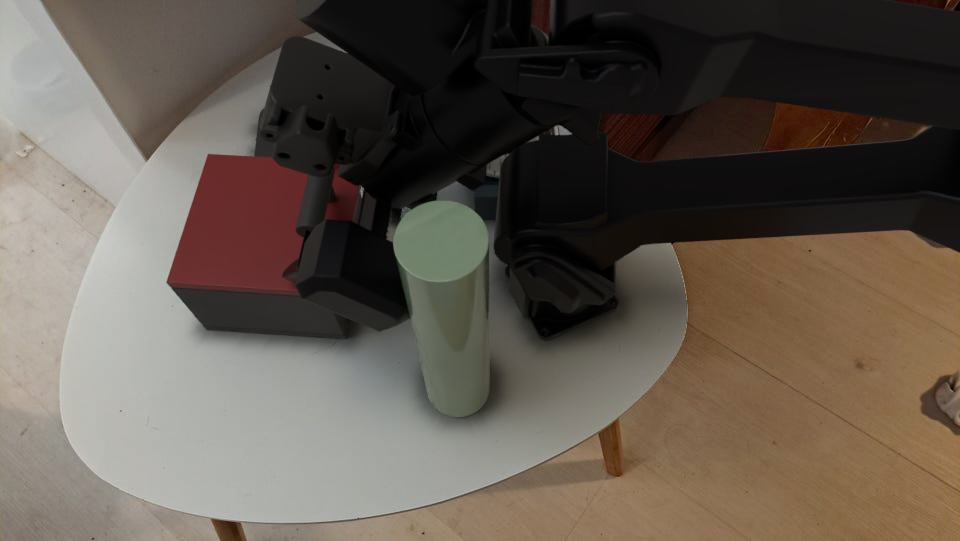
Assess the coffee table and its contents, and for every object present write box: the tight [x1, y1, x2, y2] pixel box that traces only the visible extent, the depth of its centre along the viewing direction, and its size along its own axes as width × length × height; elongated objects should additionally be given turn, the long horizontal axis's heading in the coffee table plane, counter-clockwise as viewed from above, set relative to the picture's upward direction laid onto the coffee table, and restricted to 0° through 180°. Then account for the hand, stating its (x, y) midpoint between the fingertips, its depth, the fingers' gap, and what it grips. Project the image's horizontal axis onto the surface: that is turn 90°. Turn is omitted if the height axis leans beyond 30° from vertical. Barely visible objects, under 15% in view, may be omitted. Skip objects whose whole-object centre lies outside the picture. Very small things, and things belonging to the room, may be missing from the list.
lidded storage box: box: [170, 192, 362, 340], centre depth 52 cm, size 10×10×7 cm
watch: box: [473, 125, 561, 220], centre depth 54 cm, size 6×8×11 cm
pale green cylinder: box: [393, 199, 491, 418], centre depth 42 cm, size 4×4×20 cm
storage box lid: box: [166, 153, 362, 296], centre depth 47 cm, size 11×10×4 cm
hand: (303, 216), depth 48 cm, fingers open, 9 cm apart
